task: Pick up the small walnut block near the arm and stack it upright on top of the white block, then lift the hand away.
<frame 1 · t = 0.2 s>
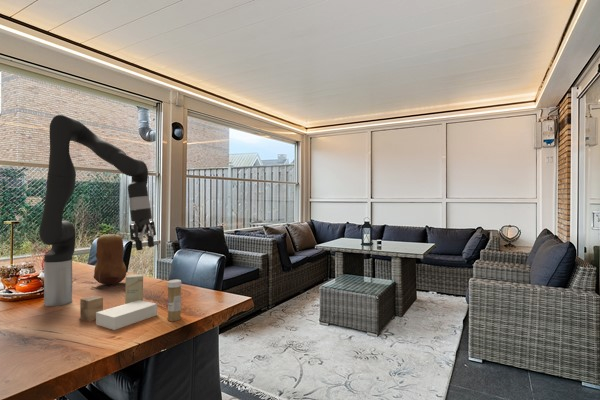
hand: (145, 248, 133), 22 cm above the table, tool pointing down, fingers open, 8 cm apart
butternut squash: (110, 285, 164), on the table
sprinkles bottle: (174, 319, 116), on the table
skincare box: (134, 307, 130), on the table
white block: (127, 319, 116), on the table
walnut block: (91, 317, 117), on the table
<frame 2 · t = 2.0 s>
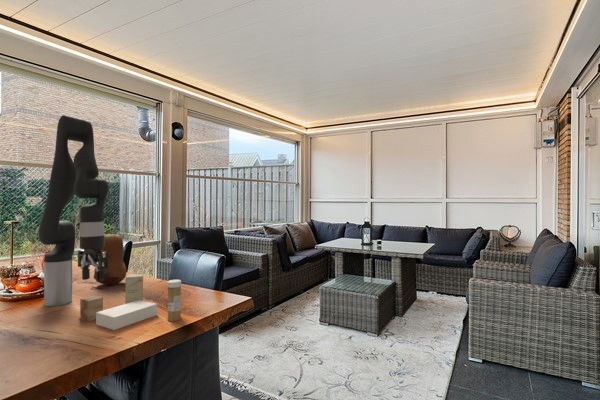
hand: (92, 280, 118), 13 cm above the table, tool pointing down, fingers open, 8 cm apart
nothing on the table moved.
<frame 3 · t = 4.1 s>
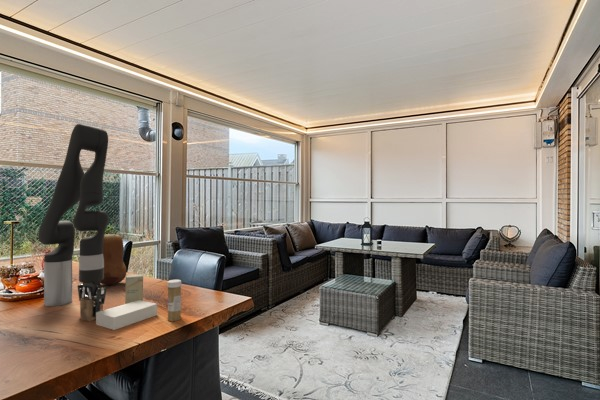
hand: (91, 315, 117), 1 cm above the table, tool pointing down, fingers closed on walnut block, 5 cm apart
walnut block: (91, 317, 117), on the table, touching gripper
everything else where it was.
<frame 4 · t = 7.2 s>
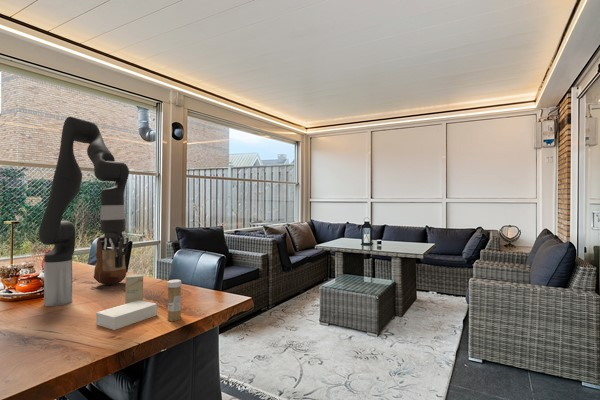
hand: (114, 266, 116), 18 cm above the table, tool pointing down, fingers closed on walnut block, 5 cm apart
walnut block: (114, 269, 116), point 17 cm above the table, touching gripper
everything else where it was.
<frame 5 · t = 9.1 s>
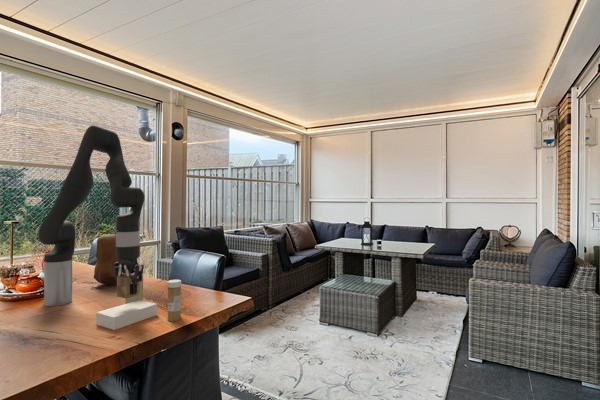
hand: (128, 293, 116), 9 cm above the table, tool pointing down, fingers closed on walnut block, 5 cm apart
walnut block: (128, 295, 116), point 8 cm above the table, touching gripper
everything else where it was.
when the fingers open (6 cm above the table, at t = 10.5 s): walnut block drops 1 cm, resting on white block.
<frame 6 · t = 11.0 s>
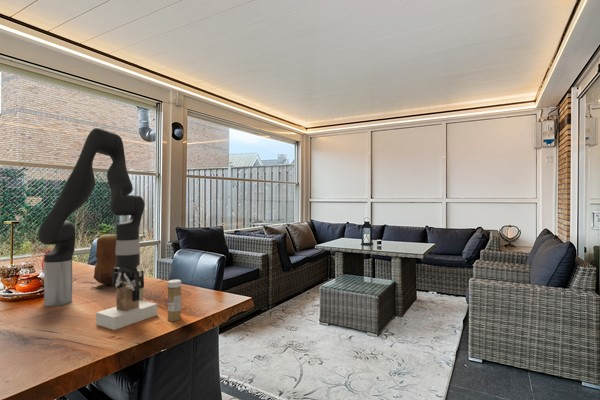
hand: (127, 299, 116), 7 cm above the table, tool pointing down, fingers open, 8 cm apart
walnut block: (127, 308, 116), point 4 cm above the table, touching white block
everything else where it was.
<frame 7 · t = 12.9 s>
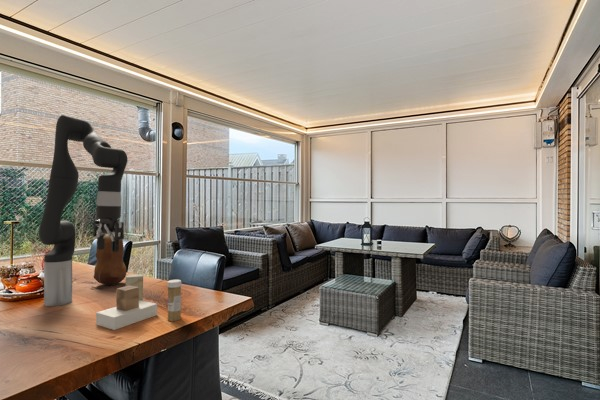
hand: (107, 250, 117), 24 cm above the table, tool pointing down, fingers open, 8 cm apart
nothing on the table moved.
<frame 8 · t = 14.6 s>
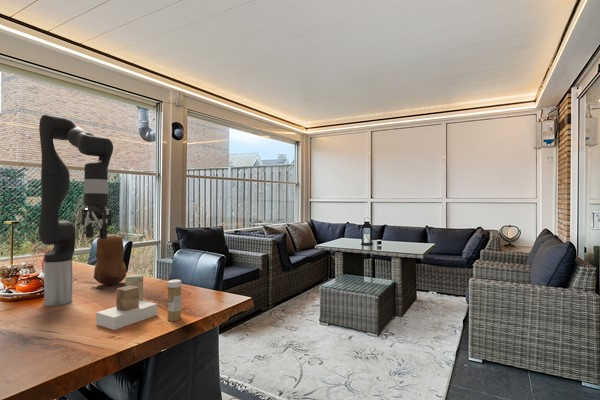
hand: (96, 238, 118), 28 cm above the table, tool pointing down, fingers open, 8 cm apart
nothing on the table moved.
at the end: walnut block inside the target area on the white block (0.0 cm from its centre), point 4.0 cm above the white block's base; walnut block tilted 0°; the gripper is holding nothing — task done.
